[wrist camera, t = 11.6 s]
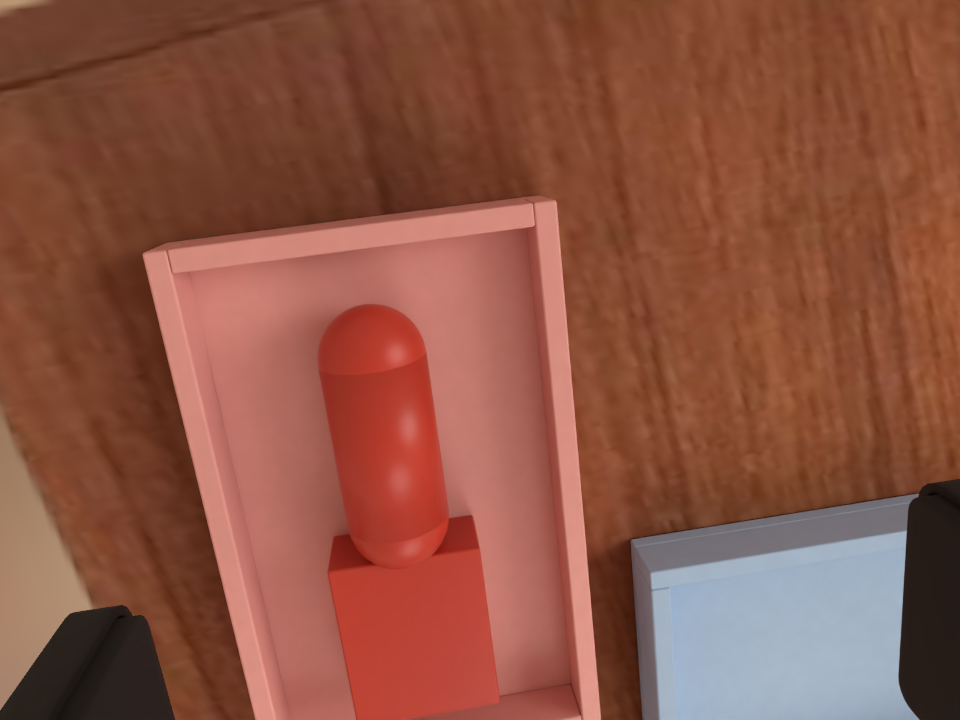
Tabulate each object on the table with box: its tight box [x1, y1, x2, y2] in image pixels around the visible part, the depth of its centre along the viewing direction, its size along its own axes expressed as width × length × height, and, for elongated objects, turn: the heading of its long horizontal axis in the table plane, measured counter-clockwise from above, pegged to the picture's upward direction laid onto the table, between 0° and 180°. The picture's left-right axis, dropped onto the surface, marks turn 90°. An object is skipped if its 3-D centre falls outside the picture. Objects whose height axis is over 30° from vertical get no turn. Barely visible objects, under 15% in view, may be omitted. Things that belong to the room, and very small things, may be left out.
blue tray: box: [631, 493, 919, 720], centre depth 25 cm, size 10×16×2 cm, turn 97°
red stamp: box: [318, 304, 500, 720], centre depth 21 cm, size 12×4×3 cm, turn 7°
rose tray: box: [143, 195, 601, 720], centre depth 22 cm, size 10×16×2 cm, turn 7°
